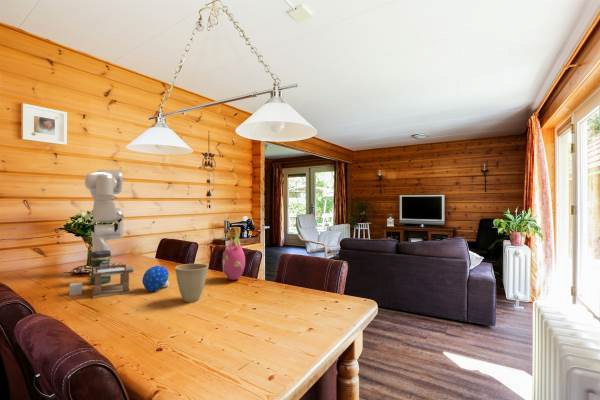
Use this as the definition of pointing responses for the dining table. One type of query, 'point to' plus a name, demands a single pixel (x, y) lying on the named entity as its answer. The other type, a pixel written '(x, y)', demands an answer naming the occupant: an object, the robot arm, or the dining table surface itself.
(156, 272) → the blue green-spotted dome
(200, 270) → the plant pot
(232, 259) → the pink dragon fruit
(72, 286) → the light grey cube
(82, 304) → the dining table surface
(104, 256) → the coffee jar
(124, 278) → the frame
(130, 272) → the trapdoor
